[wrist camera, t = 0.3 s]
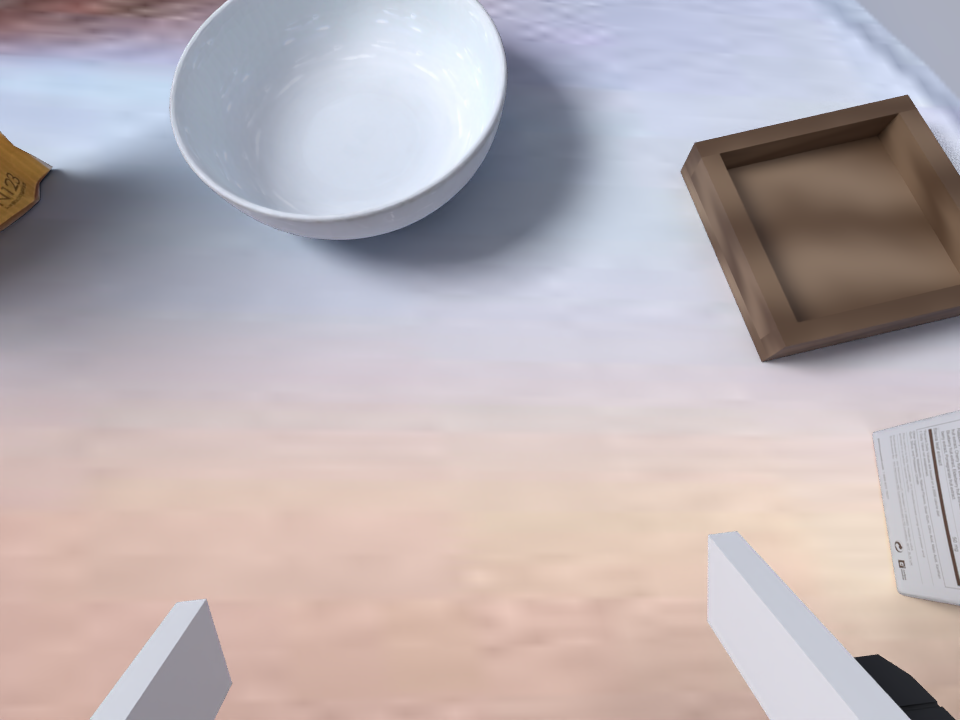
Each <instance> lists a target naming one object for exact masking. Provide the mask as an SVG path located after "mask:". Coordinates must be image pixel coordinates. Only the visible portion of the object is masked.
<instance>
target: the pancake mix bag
mask: <svg viewBox="0 0 960 720" xmlns="http://www.w3.org/2000/svg"><path fill="white" fill-rule="evenodd" d="M51 168H52V166H50V165H49V164H47V163H45V162H43V161H42V160H40V159H38V158H36V157H35V156H33V155H31V154H29V153H27V152H25V151H23V150H21V149H19V148H17V147H15V146H14V145H13V144H12V143H11V142H10V141H9V140H8V139H7V138H6V137H5V136H4V135H3V134H2V133H1V132H0V232H1V231H2V230H4V229H5V228H7V227H8V226H9V225H11V224H12V223H13V222H15V221H16V220H17V219H19V218H20V217H21V216H22V215H24V214H25V213H26V212H27V211H28V210H30V209H31V208H32V207H33V206H34V205H35V204H36V203H37V202H38V201H39V200H40V190H39V183H40V182H41V181H42V179H43V178H44V177H45V176H46V175H47V173H48V172H49V171H50V170H51Z"/></svg>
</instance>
